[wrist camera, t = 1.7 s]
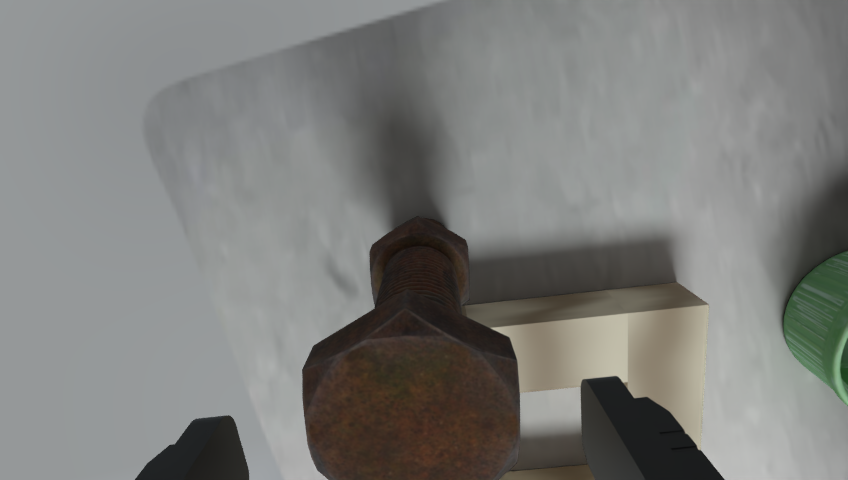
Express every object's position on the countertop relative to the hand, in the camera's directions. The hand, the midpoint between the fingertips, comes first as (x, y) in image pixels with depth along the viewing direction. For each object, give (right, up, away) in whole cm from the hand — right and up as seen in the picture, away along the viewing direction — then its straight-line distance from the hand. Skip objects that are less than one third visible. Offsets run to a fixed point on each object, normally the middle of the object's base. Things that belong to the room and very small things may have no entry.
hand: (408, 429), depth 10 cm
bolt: (0, +4, +15) cm, 15 cm away
